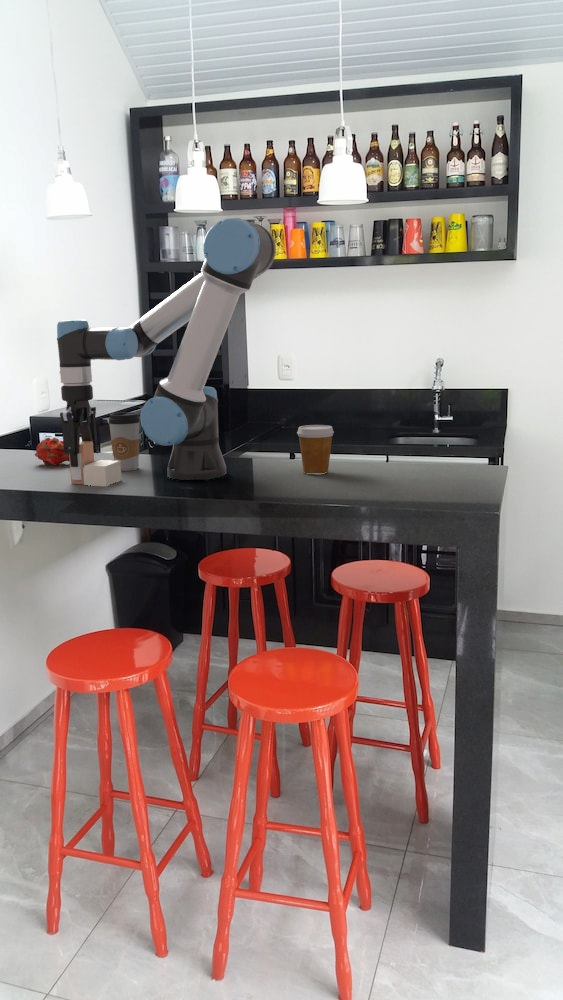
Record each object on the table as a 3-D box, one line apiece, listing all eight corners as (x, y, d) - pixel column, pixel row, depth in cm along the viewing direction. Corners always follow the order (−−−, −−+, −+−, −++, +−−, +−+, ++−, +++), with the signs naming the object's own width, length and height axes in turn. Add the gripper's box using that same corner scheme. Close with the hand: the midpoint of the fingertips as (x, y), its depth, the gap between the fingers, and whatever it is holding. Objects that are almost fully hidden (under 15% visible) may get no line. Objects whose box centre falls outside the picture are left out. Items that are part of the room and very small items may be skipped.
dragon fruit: (38, 468, 238) (73, 477, 234) (23, 455, 230) (59, 463, 226) (49, 442, 240) (85, 450, 237) (35, 428, 233) (71, 436, 229)
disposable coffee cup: (298, 469, 220) (298, 424, 218) (334, 469, 219) (334, 424, 217) (296, 476, 211) (295, 429, 209) (333, 476, 210) (333, 429, 208)
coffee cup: (106, 471, 223) (103, 415, 220) (118, 465, 231) (114, 412, 228) (136, 472, 221) (133, 415, 218) (146, 466, 229) (143, 412, 226)
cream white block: (121, 480, 210) (120, 460, 209) (106, 486, 203) (104, 466, 202) (100, 479, 212) (98, 459, 211) (84, 485, 204) (82, 465, 203)
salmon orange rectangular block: (95, 480, 211) (92, 441, 209) (85, 484, 206) (82, 444, 204) (81, 479, 212) (78, 440, 210) (71, 483, 207) (68, 443, 205)
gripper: (81, 381, 213) (87, 470, 218) (42, 387, 196) (50, 483, 201) (107, 381, 211) (113, 471, 216) (71, 387, 194) (78, 484, 199)
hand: (83, 477), depth 209 cm, fingers closed on salmon orange rectangular block, 5 cm apart
